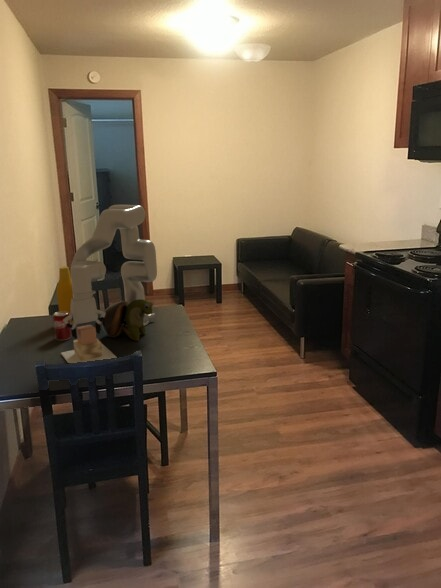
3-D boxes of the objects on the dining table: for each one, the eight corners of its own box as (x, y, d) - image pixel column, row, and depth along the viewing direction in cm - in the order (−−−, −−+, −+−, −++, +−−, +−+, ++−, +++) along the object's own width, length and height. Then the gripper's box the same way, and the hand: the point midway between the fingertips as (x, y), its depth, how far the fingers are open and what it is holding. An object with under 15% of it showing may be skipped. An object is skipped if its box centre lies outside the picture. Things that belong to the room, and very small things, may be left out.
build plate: (102, 345, 211) (102, 343, 211) (116, 358, 196) (116, 357, 196) (61, 354, 202) (61, 352, 202) (73, 369, 187) (72, 367, 187)
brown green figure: (118, 339, 231) (165, 328, 225) (105, 350, 216) (154, 338, 210) (105, 303, 228) (153, 290, 222) (91, 311, 213) (141, 298, 207)
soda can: (67, 341, 216) (64, 316, 213) (52, 340, 218) (49, 315, 215) (74, 335, 223) (72, 311, 220) (60, 334, 225) (57, 310, 221)
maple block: (95, 349, 205) (94, 336, 203) (102, 356, 198) (101, 342, 196) (74, 353, 200) (73, 340, 199) (80, 360, 193) (79, 347, 191)
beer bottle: (56, 324, 239) (49, 268, 231) (70, 319, 246) (64, 264, 238) (69, 327, 234) (62, 270, 226) (83, 322, 242) (77, 266, 234)
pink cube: (92, 337, 201) (90, 324, 200) (96, 342, 196) (95, 328, 195) (78, 340, 198) (76, 327, 197) (82, 345, 193) (81, 331, 192)
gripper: (100, 290, 199) (103, 328, 204) (58, 296, 191) (62, 336, 195) (106, 294, 193) (109, 333, 198) (63, 301, 184) (67, 342, 189)
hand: (86, 335), depth 197 cm, fingers open, 9 cm apart
